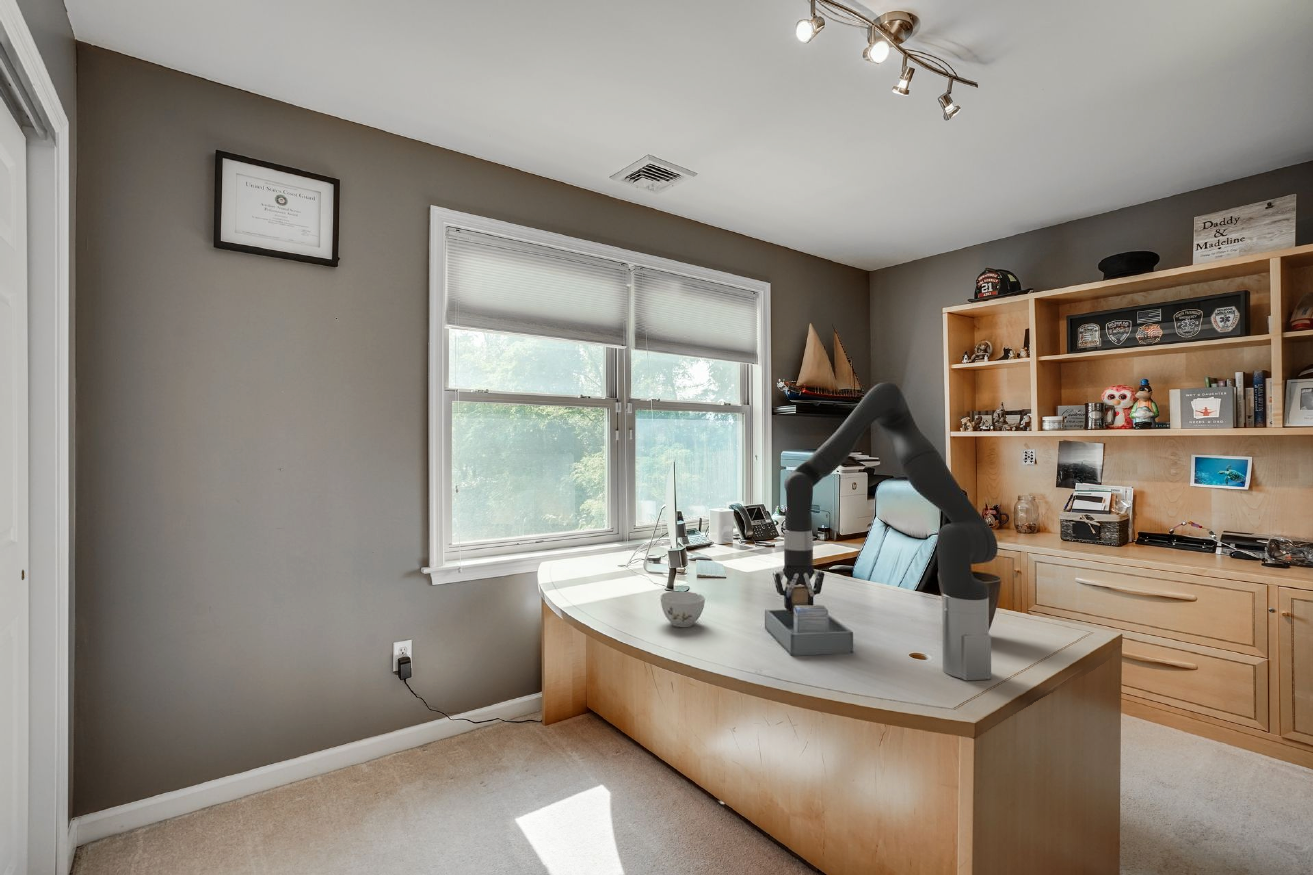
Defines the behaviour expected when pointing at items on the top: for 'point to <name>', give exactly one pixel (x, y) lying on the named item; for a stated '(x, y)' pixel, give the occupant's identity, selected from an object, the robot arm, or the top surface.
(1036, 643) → the top surface
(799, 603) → the tan bread loaf
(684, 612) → the teacup
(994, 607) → the plant pot
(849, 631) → the tote
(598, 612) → the top surface
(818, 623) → the medicine box
